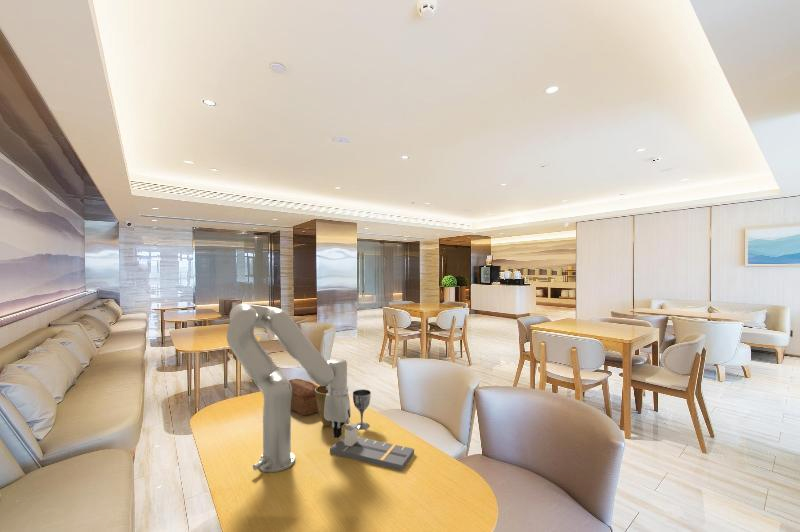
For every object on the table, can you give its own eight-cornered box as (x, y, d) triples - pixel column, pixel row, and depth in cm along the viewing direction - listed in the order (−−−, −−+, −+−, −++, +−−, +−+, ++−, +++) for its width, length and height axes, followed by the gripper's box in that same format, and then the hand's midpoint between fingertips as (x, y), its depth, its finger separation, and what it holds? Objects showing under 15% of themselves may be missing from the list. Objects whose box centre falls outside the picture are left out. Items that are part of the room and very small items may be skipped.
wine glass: (349, 427, 155) (349, 393, 155) (359, 420, 162) (359, 388, 162) (364, 431, 152) (364, 396, 152) (374, 424, 159) (374, 391, 159)
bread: (303, 419, 164) (303, 393, 164) (276, 402, 184) (276, 379, 184) (328, 411, 174) (328, 386, 174) (300, 396, 194) (300, 374, 194)
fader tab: (351, 446, 134) (351, 429, 134) (344, 445, 136) (344, 428, 136) (358, 440, 139) (357, 424, 139) (351, 439, 140) (351, 423, 140)
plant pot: (345, 431, 152) (344, 394, 152) (311, 430, 152) (311, 394, 152) (350, 416, 167) (350, 382, 167) (319, 416, 167) (319, 382, 167)
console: (402, 471, 122) (402, 464, 122) (329, 453, 134) (329, 447, 134) (414, 454, 133) (414, 448, 133) (346, 439, 145) (346, 433, 145)
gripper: (316, 391, 139) (316, 437, 139) (348, 396, 133) (349, 444, 133) (327, 385, 146) (327, 429, 146) (358, 390, 140) (358, 435, 140)
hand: (337, 436), depth 140 cm, fingers closed
